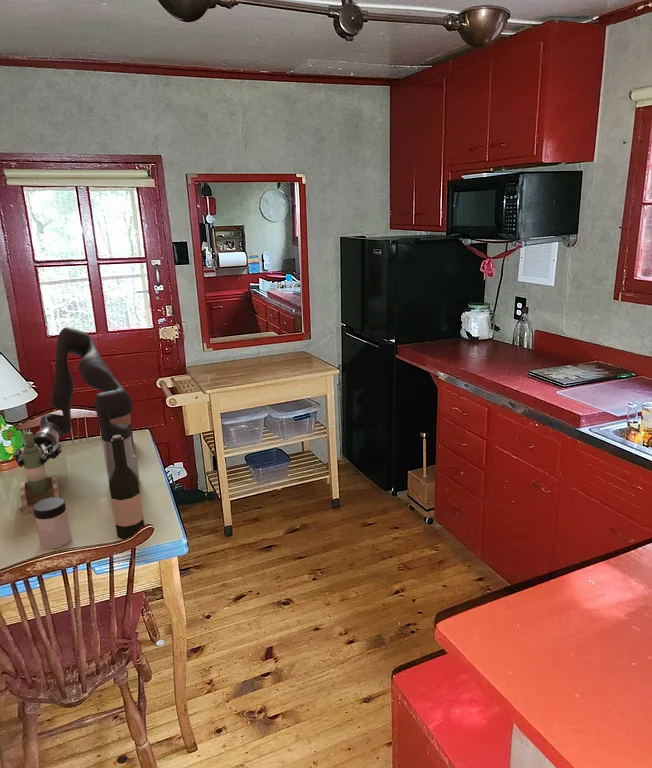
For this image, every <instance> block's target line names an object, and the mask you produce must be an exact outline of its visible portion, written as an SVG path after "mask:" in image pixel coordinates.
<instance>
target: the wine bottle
mask: <svg viewBox="0 0 652 768" xmlns="http://www.w3.org/2000/svg"><path fill="white" fill-rule="evenodd" d="M112 438H113V439H111V443H112V449H113V456H114V462H115V469H114V471H113V473H112V475H111V477H110V479H109V480H108V487H109V493H110V500H111V505H112V511H113V512H112V513H113V518H114V524H115V530H116V536H117V537H116V538H118V539H122V540H125V539H126V538H128V537H130V536H132V535H133V534H134V533H135V532H137V531H138V530H139V529H140V528H141V527H143V526H145V519H144V513H143V506H142V500H141V493H140V485H139V482H138V477H137V475H136V473H135V472H134V471H133V470H132V469H131V468H130V467H129V466H128V465H127V461H126V454H125V447H124V441H123V437H121V435H114V436H112Z"/></svg>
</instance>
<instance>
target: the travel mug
mask: <svg viewBox="0 0 652 768" xmlns="http://www.w3.org/2000/svg"><path fill="white" fill-rule="evenodd" d="M110 421H111V423H114V424H123V425H126V426H128V427H129V428H130V433H131V440H132V443H133V444H134V437H133V436H134V435H133V427H132V419H131V413H130V414H128V415H126V416H123V417H119V418H114V419H111V420H110Z"/></svg>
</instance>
